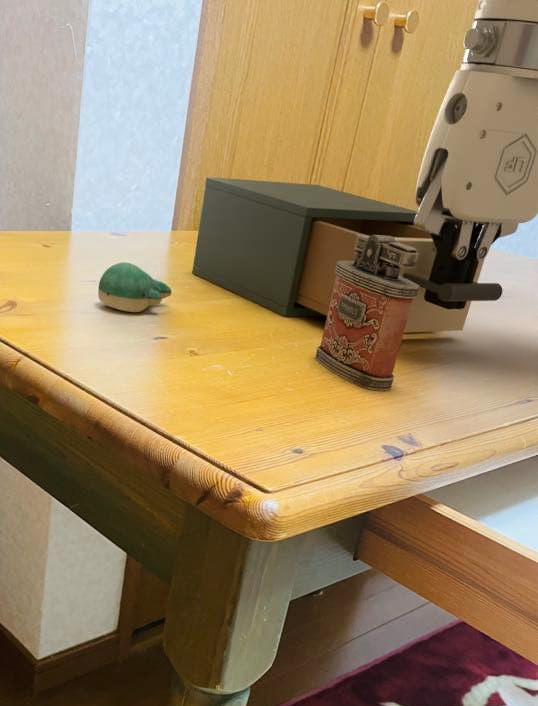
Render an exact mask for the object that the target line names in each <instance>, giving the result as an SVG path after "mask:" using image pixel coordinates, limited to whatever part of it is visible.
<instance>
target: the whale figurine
mask: <svg viewBox="0 0 538 706" xmlns="http://www.w3.org/2000/svg"><path fill="white" fill-rule="evenodd" d="M97 293H98V296H97V297H98V300H99V301H100V302H101V303H102V304H103V305H104V306H107V307H110V308H112V309H116V310H119V311H122V312H127V313H128V312H129V313H140V312H142V311H144V310H146V309H147V308H148V307H149V306H157V305H159V304H161V302H162V301H163V299H167V298H169V297H170V296H171V295H172V289H171V287H170V286H168V284H166V283H165V282H163V281H160V280H157V279H154V278H153V277H152V276H151V275H149V274H148V273H147V272H146V271H145V270H143V269H141V268H140V267H138V266H137V265H135V264H134V263H131V262H118V263H115V264H113V265H111V266H110V267H108V268H107V269H106V270H105V271H104V272H103V273H102V275H101V276H100V279H99V282H98V291H97Z"/></svg>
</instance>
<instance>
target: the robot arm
mask: <svg viewBox="0 0 538 706" xmlns="http://www.w3.org/2000/svg"><path fill="white" fill-rule="evenodd" d="M462 43H463V47H464V48H465V49H464V53H463V57H462V59H461V64H460V68H459V69H456V71H455V73H454V75H453V77H452V79H451V81H450V83H449V86H448V88H447V90H446V92H445V94H444V95H445V96H444V97H443V100H442V103H441V105H440V107H439V111H438V113H437V116H436V118H435V120H434V124H433V127H432V130H431V133H430V135H429V139H428V142H427V144H426V149H425V151H424V155H423V158H422V162H421V165H420V168H419V172H418V177H417V181H416V186H415V193H414V201H415V204H416V205H417V206H418V207H419V208H418V210H417V211H418V212H417V214H416V217H415V219H414V225H415V226H416V227H418V228H420V229H422V230H424V231H426V232H429V233H430V234H431V237H432V239H433V244H432V250H433V252H435V253H436V256H435V260H434V263H433V267H432V270H431V274H430V277H429V281H432V282H435V283H438V284H441V285H443V284H444V283H473V280H474V277H475V273H476V270H477V267H478V264H479V261H477V260H483V259H484V258H485V259H486V257H487V256H488V254H489V251H490V249H491V246H492V245H493V244H494V243H495V242H496V241H497V240H498V239H499V238H503V237H507V236H509V235H513V234H515V233H516V232H517V230H518V227H519V224H526V223H528V222H530V221H532V220H534V219H535V218H536V217H537V215H538V0H478V1H477V5H476V9H475V13H474V17H473V21H472V23H471V27H470V29H469V30H468V31H467V32H466V33H465V35H464V37H463V42H462ZM485 259H484V260H485ZM424 300H425V301H427V302H429V303H432V304H435V305H437V306H440V307H443V308H445V309H463V308H464V307H465V305H466V302H467V301H442V300H440V298H439V296H438V293H436V292H433V291H430V290H428V289H426V291H425V295H424Z"/></svg>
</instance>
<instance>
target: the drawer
mask: <svg viewBox="0 0 538 706" xmlns="http://www.w3.org/2000/svg"><path fill="white" fill-rule="evenodd" d="M358 235H367V236H371V235H383V236H392V237H394V238H395V241H396V243H401V244H404V245H407V246H409V247H412V248H415V249H417V250H416V252H417V253H418V257H417V260H416V264H415V268H406V267H401V266H399V267H400V272H399V276H401V277H403V278H406V279H408V280H410V281H412V282H414V283H416V284H418V285H419V290H418V293H417V297H416V298H413V301H412V305H411V308H410V312H409V316H408V319H407V323H406V326H405V330H404V333H428V332H429V333H431V332H456V331H458V332H459V331H463V330H464V326H465V323H466V320H467V317H468V314H469V311H470V307H471V304H472V302H495V301H498V300H499V299H500V298H501V297H502V295H503V287H502V285H501V284H500V283H497V282H481V283H480V282H478V281H479V279H480V275H481V272H482V269H483V267H484V266H483V265H484V262H485V259H486V257H485V258H484V259H483V260H477V261H479V264H478V267H477V270H476V273H475V277H474V280H473V283H444V284H443V285H441V284H438V283H435V282H432V281H429V277H430V274H431V270H432V267H433V263H434V260H435V256H436V253H435V252H433V250H432V244H433V239H432V237H431V234H430V233H429V232H426V231H424V230H422V229H420V228H418V227H416V226H413V225H410V224H406V223H403V222H399V221H380V220H359V219H338V218H316V217H312V222H311V226H310V231H309V236H308V241H307V245H306V250H305V255H304V260H303V264H302V269H301V274H300V279H299V283H298V288H297V293H296V298H295V302H296V303H299V304H301V305H303V306H306V307H308V308H310V309H312V310H315V311H317V312H319V313H321V314H324V315H326V316H325V317H327V315H328V311H329V307H330V302H331V298H332V294H333V289H334V285H335V281H336V276H337V273H335V269H336V265H337V262H338V261H355V255H354V253H355V249H354V248H355V244H356V240H357V236H358ZM426 289H428V290H430V291H433V292H436V293H438V296H439V298H440V300H442V301H467V302H466V305H465V307H464V308H463V309H445V308H443V307H440V306H437V305H435V304H432V303H429V302H427V301H425V300H424V295H425V291H426Z"/></svg>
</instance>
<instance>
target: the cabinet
mask: <svg viewBox="0 0 538 706" xmlns="http://www.w3.org/2000/svg"><path fill="white" fill-rule="evenodd" d="M202 197H203V198H202V204H201V209H200V210H201V211H200V217H199V223H198V224H199V225H198V231H197V238H196V245H195V251H194V256H193V257H194V258H193V266H192V270H191V274H193V275H195V276H198V277H199V278H201V279H204V280H206V281H207V282H210V283H213V284H215V285H217V286H219V287H221V288H223V289H225V290H227V291H229V292H231V293H234V294H236V295H238V296H240V297H242V298H244V299H246V300H248V299H249V301H251V302H253V303H255V304H257V305H259V306H261V307H262V308H266V309H268V310H270V311H272V312H274V313H276V314H279V315H281V316H283V317H284V318H288V317H289V318H291V317H297V318H298V317H327V316H326V315H324V314H321V313H319V312H317V311H315V310H312V309H310V308H308V307H306V306H303V305H301V304H299V303H296V302H295V298H296V293H297V288H298V283H299V279H300V274H301V269H302V264H303V260H304V255H305V250H306V245H307V241H308V236H309V231H310V226H311V222H312V217H316V218H338V219H359V220H380V221H399V222H403V223H406V224H410V225H413V226H415V225H414V219H415V217H416V214H417V212H418V210H413V209H411V208H406V207H402V206H398V205H396V204H395V205H394V204H391V203H387V202H383V201H381V200H376V199H372V198H369V197H364V196H361V195H356V194H353V193H349V192H346V191H342V190H338V189H334V188H330V187H327V186H323V185H319V184H312V183H311V184H309V183H299V182H298V183H296V182H283V181H270V180H256V179H255V180H253V179H239V178H226V177H225V178H224V177H214V176H213V177H210V176H207V177H205V183H204V190H203V196H202Z"/></svg>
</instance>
